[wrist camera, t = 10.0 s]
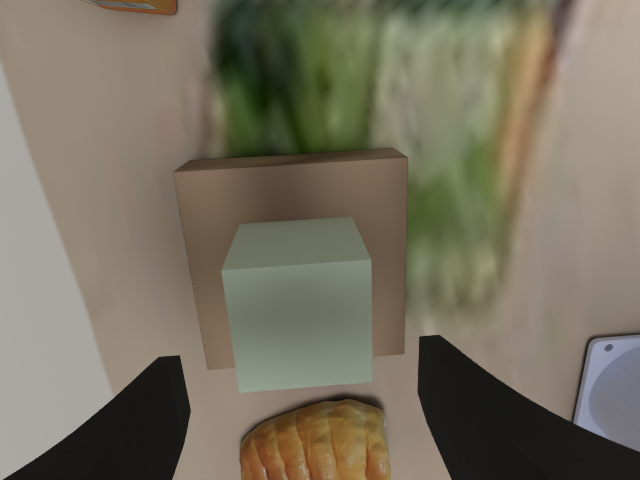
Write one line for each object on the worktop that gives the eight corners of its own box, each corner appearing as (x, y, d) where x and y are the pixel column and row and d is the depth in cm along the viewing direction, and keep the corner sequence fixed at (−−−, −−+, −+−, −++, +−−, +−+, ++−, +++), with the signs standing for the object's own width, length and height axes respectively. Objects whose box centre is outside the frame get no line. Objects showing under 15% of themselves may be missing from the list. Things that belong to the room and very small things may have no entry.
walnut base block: (392, 148, 21) (408, 157, 18) (391, 322, 24) (404, 353, 21) (189, 160, 20) (172, 172, 18) (217, 336, 24) (207, 369, 21)
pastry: (252, 485, 28) (245, 543, 25) (231, 406, 26) (221, 457, 22) (389, 465, 28) (402, 520, 25) (381, 384, 26) (394, 431, 22)
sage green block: (351, 216, 19) (371, 259, 14) (354, 314, 20) (372, 381, 16) (239, 224, 18) (221, 270, 14) (252, 321, 20) (239, 392, 16)
